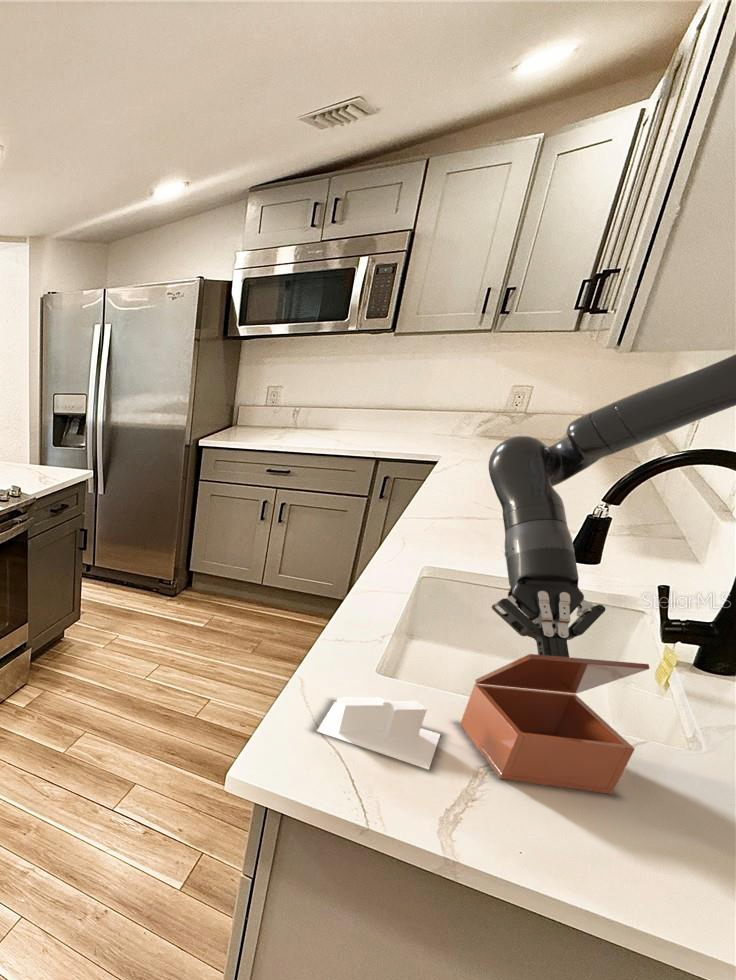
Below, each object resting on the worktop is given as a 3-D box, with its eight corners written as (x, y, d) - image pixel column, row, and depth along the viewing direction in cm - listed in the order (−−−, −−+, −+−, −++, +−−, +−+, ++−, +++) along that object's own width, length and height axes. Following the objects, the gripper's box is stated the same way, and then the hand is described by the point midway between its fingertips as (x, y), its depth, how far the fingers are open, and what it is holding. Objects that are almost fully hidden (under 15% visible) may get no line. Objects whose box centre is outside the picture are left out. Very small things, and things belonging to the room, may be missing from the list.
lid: (650, 669, 80) (649, 663, 80) (530, 658, 84) (529, 653, 84) (576, 693, 93) (575, 689, 93) (475, 683, 96) (474, 679, 97)
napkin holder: (316, 731, 100) (323, 702, 98) (334, 701, 108) (340, 673, 105) (429, 770, 91) (440, 738, 88) (440, 733, 98) (450, 703, 96)
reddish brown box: (611, 794, 84) (635, 748, 81) (499, 778, 88) (517, 734, 85) (556, 735, 96) (575, 693, 93) (459, 724, 100) (474, 683, 97)
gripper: (499, 543, 93) (513, 652, 87) (612, 547, 88) (634, 662, 83) (473, 563, 99) (485, 666, 94) (577, 568, 95) (595, 676, 90)
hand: (555, 664), depth 88 cm, fingers closed
